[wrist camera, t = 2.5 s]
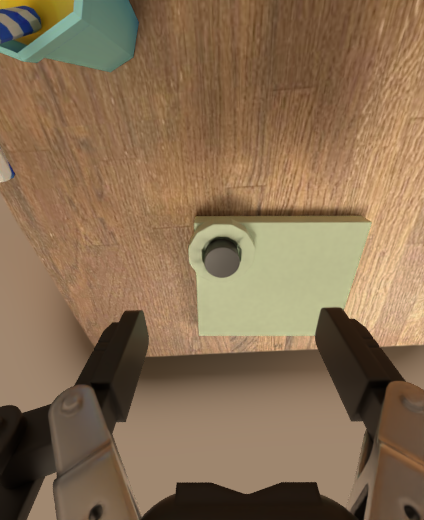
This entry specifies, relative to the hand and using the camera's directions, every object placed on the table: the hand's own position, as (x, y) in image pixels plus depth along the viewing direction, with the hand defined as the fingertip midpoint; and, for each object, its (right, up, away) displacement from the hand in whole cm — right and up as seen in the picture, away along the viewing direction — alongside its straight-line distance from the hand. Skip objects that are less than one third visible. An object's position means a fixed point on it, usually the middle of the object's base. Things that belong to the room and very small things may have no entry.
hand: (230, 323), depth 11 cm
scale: (+6, +1, +16) cm, 17 cm away
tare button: (0, +3, +11) cm, 12 cm away
